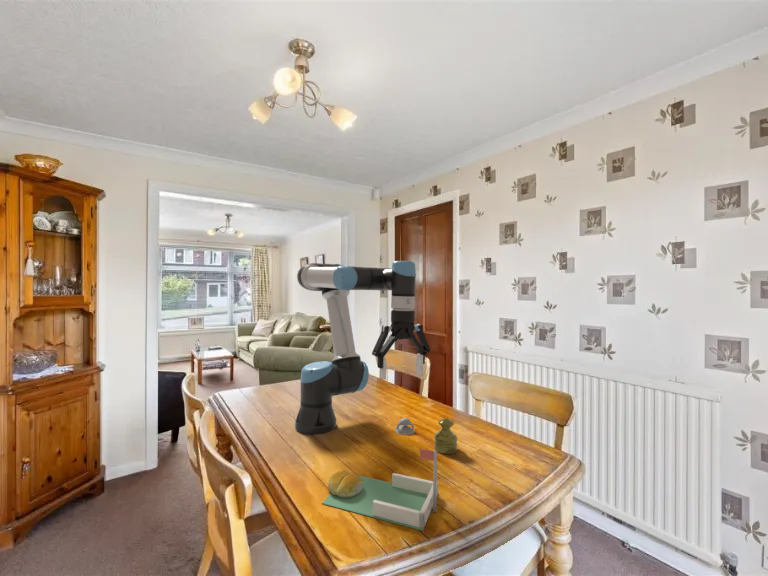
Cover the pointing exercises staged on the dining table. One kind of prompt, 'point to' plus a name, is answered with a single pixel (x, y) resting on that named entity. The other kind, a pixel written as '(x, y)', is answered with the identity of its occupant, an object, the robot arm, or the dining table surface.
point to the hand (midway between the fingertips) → (401, 376)
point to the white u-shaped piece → (412, 484)
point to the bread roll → (345, 484)
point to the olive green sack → (445, 438)
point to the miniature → (404, 427)
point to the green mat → (379, 492)
